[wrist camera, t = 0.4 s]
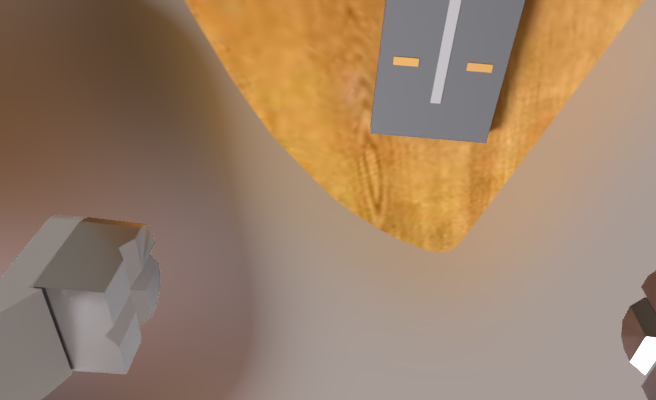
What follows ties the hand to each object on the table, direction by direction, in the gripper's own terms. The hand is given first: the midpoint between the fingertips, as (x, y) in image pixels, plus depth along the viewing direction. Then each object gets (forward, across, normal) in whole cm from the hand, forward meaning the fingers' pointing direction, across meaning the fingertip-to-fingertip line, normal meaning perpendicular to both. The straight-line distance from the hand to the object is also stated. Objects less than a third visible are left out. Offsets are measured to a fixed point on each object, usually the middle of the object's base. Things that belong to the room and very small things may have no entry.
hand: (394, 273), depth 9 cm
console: (+44, -8, +7) cm, 45 cm away
